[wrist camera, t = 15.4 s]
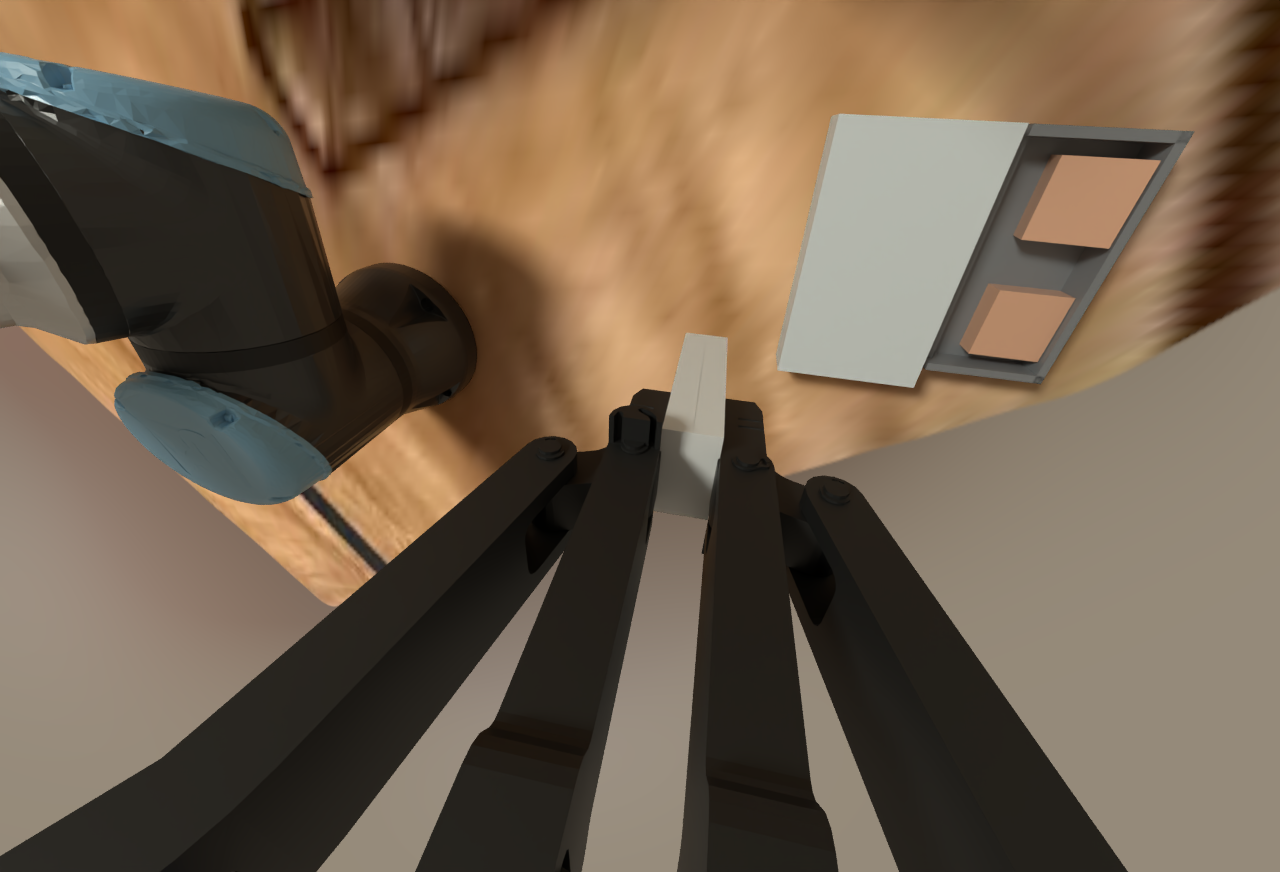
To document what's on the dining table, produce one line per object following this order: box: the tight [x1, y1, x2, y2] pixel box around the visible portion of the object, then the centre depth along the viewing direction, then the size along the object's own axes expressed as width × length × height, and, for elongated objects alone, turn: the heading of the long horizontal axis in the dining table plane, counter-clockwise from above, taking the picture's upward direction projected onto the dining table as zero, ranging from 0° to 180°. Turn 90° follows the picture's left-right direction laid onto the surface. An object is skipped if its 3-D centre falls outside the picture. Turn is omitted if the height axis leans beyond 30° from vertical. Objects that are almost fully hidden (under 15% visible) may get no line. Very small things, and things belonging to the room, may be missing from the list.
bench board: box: [776, 114, 1029, 388], centre depth 34 cm, size 11×18×4 cm, turn 177°
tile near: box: [1013, 154, 1161, 249], centre depth 30 cm, size 5×5×2 cm
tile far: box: [960, 283, 1076, 362], centre depth 35 cm, size 5×5×2 cm
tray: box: [923, 124, 1194, 384], centre depth 33 cm, size 8×16×3 cm, turn 177°
